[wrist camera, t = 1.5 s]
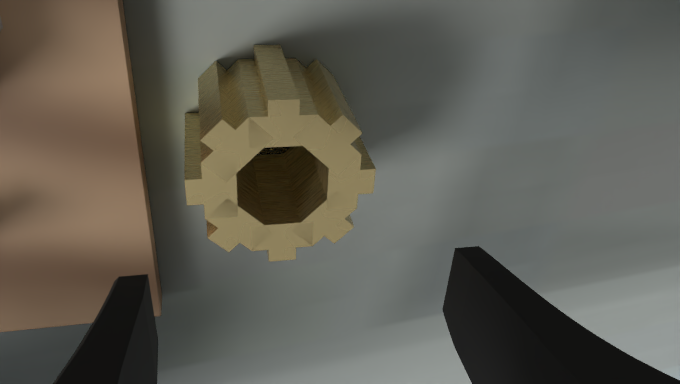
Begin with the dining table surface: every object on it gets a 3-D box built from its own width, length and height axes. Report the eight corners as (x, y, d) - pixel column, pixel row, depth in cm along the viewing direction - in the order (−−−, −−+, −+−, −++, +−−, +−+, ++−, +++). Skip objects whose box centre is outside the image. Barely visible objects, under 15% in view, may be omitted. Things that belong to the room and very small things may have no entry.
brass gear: (339, 183, 24) (366, 253, 21) (192, 192, 23) (192, 268, 20) (349, 43, 21) (383, 96, 18) (179, 46, 20) (177, 103, 16)
